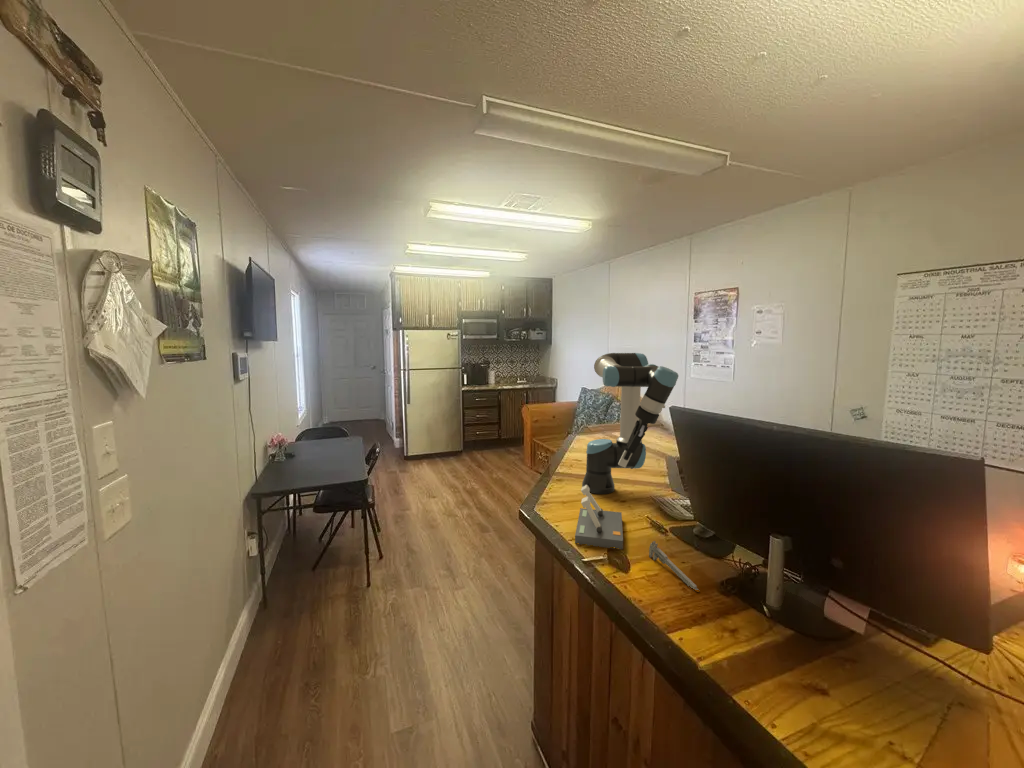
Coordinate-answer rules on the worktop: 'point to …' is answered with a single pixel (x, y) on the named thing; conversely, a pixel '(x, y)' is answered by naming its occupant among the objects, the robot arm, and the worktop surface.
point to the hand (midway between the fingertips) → (621, 465)
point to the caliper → (669, 563)
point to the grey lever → (591, 513)
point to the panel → (610, 529)
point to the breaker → (592, 499)
